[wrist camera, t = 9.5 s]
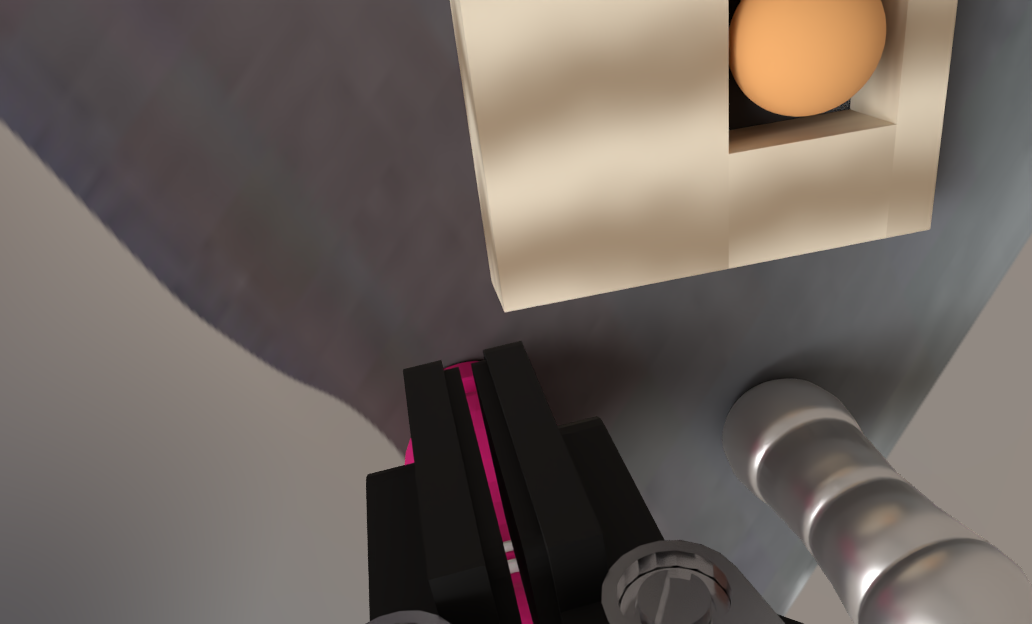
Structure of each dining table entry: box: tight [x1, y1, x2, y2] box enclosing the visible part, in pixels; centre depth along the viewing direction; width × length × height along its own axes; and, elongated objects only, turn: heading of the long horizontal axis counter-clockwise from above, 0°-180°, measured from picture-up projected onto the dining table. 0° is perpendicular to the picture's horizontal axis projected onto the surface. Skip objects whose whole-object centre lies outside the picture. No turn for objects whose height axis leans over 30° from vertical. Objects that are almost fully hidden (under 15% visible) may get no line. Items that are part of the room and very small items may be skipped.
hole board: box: [450, 0, 958, 312], centre depth 32 cm, size 18×20×4 cm
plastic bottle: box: [722, 378, 1032, 624], centre depth 34 cm, size 6×7×20 cm
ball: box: [729, 0, 886, 117], centre depth 31 cm, size 6×6×6 cm
